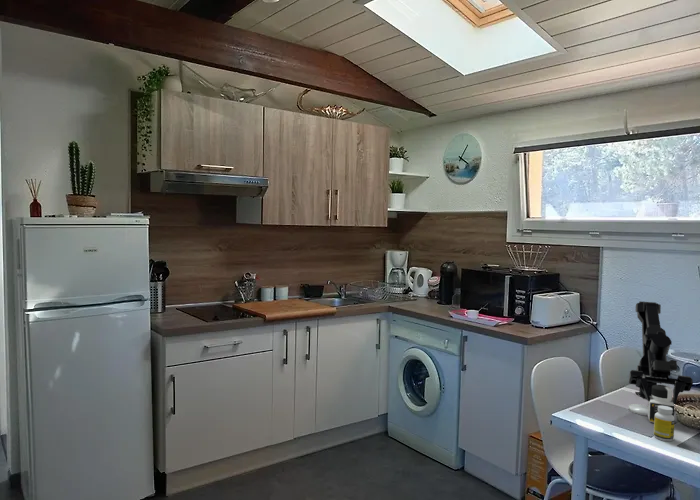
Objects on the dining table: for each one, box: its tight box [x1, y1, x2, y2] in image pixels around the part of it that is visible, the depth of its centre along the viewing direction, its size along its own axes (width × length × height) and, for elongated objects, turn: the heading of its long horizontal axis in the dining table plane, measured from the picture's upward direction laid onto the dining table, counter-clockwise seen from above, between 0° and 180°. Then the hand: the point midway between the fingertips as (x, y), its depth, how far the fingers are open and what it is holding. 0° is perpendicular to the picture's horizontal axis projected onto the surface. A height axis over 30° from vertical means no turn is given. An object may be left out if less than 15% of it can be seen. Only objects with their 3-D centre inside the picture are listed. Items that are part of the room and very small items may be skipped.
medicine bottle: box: [647, 384, 676, 424], centre depth 173 cm, size 7×7×12 cm
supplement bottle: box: [653, 406, 676, 442], centre depth 159 cm, size 5×5×10 cm
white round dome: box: [628, 403, 648, 417], centre depth 183 cm, size 9×9×1 cm
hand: (661, 402), depth 172 cm, fingers closed on medicine bottle, 7 cm apart
